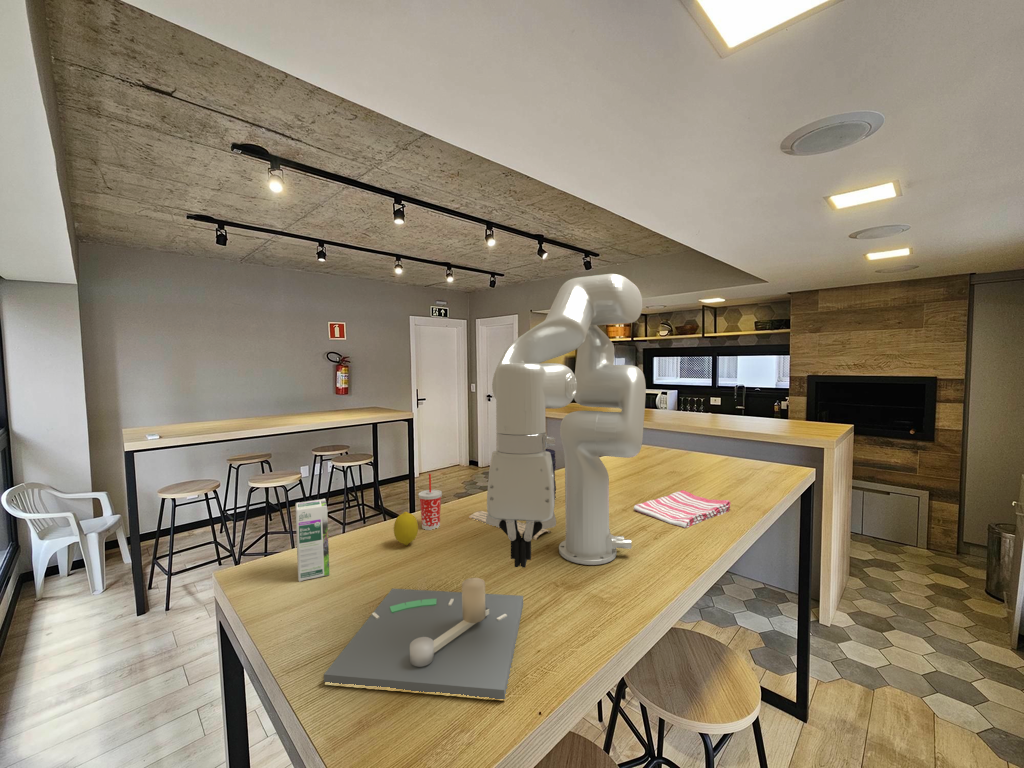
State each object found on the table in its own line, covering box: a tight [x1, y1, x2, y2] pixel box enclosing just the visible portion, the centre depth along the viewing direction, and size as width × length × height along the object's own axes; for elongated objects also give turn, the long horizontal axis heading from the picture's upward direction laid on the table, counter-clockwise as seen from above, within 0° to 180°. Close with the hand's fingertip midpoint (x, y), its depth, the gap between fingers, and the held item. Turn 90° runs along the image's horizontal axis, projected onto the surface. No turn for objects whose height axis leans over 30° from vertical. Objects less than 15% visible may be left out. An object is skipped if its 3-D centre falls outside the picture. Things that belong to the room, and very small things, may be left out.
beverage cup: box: [418, 473, 443, 531], centre depth 112 cm, size 6×6×14 cm
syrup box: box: [295, 498, 330, 583], centre depth 87 cm, size 6×6×14 cm
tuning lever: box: [410, 577, 489, 667], centre depth 63 cm, size 15×4×6 cm, turn 142°
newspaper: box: [468, 510, 552, 541], centre depth 113 cm, size 24×7×2 cm, turn 49°
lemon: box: [393, 511, 419, 547], centre depth 100 cm, size 6×6×8 cm
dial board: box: [323, 588, 524, 700], centre depth 65 cm, size 24×22×2 cm
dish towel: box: [633, 490, 732, 529], centre depth 122 cm, size 17×23×4 cm
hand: (521, 563), depth 65 cm, fingers closed
